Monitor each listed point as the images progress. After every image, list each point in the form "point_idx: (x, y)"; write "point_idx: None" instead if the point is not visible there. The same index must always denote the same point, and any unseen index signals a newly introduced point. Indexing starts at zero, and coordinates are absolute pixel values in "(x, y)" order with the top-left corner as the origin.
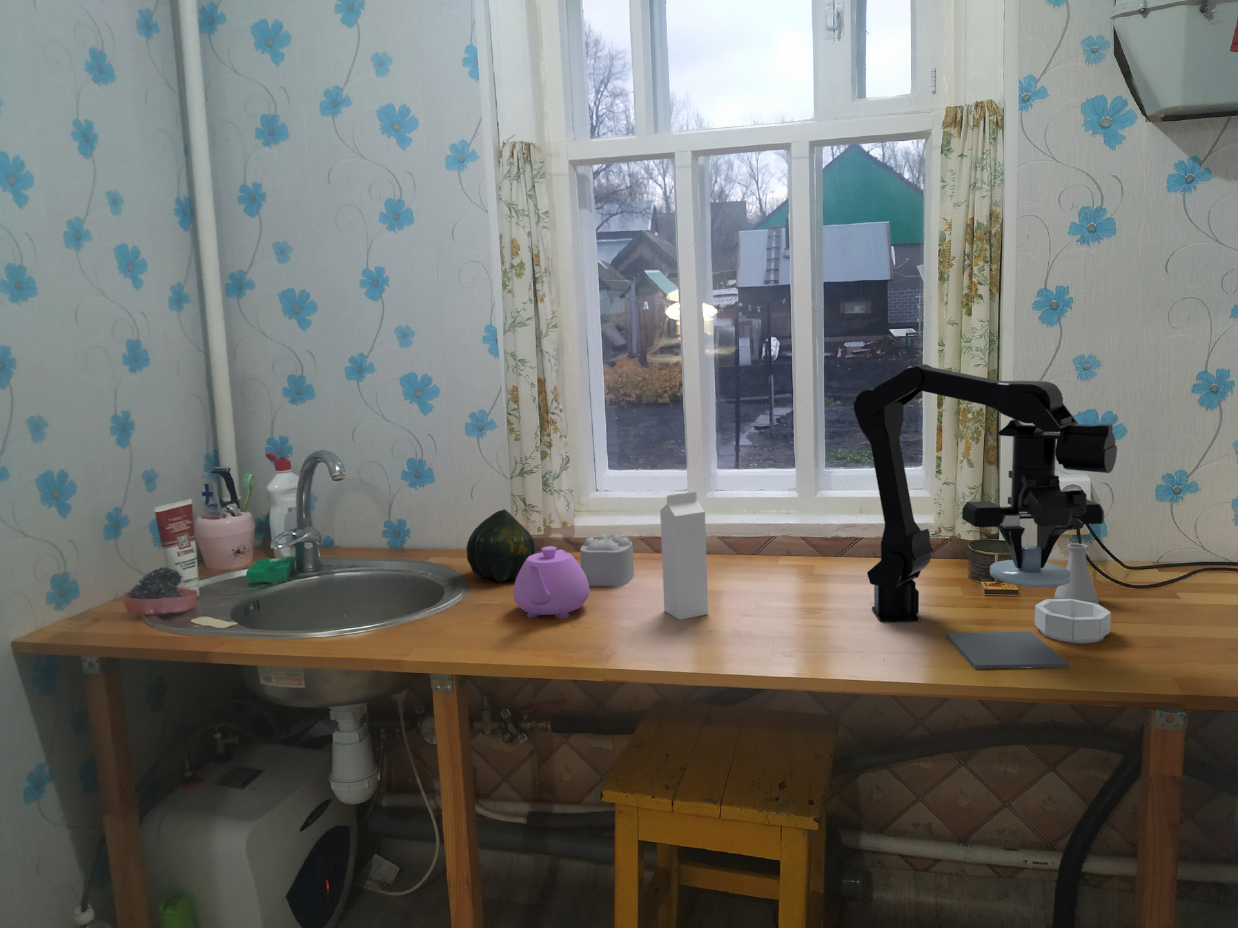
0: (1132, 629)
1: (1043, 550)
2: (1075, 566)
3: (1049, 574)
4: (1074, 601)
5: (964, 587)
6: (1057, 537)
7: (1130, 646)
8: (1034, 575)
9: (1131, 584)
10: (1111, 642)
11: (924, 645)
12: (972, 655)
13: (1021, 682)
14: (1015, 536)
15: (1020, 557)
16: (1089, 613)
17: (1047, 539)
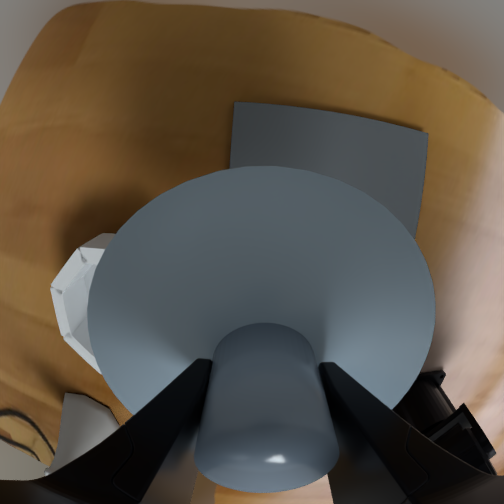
0: (39, 293)
1: (186, 431)
2: (72, 453)
3: (199, 283)
4: None
5: None
6: (62, 476)
7: (63, 213)
8: (292, 275)
9: (29, 424)
10: (84, 237)
11: (448, 266)
12: (413, 182)
13: (368, 55)
14: (472, 487)
15: (347, 396)
16: (85, 328)
17: (149, 491)
